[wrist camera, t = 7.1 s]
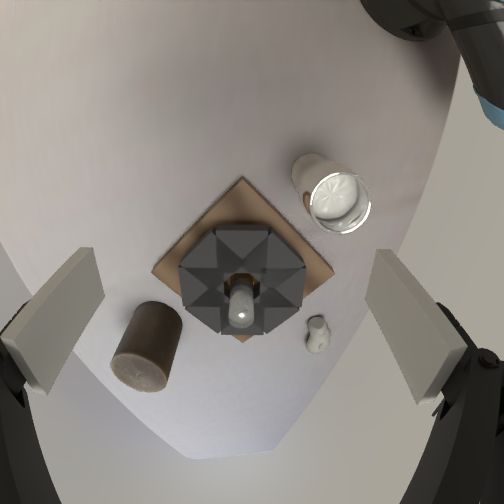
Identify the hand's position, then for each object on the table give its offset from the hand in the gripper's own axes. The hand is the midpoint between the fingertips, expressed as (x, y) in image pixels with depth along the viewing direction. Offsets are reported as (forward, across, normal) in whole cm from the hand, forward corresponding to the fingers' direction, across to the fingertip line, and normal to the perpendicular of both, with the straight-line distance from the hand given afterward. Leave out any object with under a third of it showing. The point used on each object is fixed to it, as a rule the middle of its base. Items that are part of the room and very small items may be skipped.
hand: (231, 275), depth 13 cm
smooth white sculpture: (+31, +14, -31) cm, 46 cm away
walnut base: (+31, 0, -17) cm, 35 cm away
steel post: (+29, 0, -17) cm, 33 cm away
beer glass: (+31, +10, -1) cm, 32 cm away
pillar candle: (+31, -16, -29) cm, 45 cm away
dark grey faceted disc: (+26, 0, -17) cm, 31 cm away
